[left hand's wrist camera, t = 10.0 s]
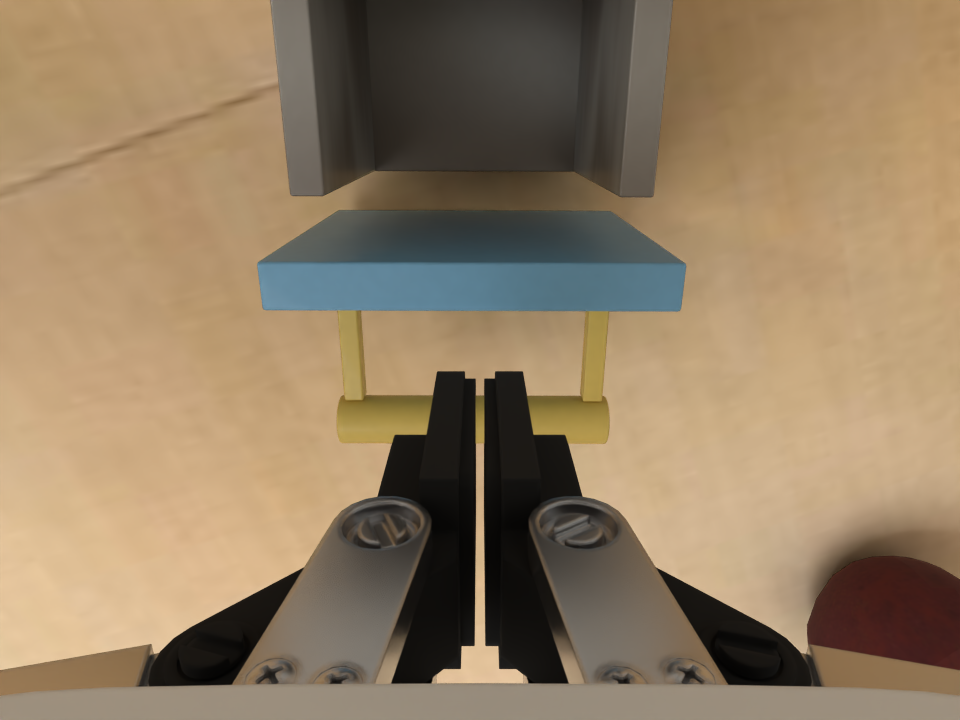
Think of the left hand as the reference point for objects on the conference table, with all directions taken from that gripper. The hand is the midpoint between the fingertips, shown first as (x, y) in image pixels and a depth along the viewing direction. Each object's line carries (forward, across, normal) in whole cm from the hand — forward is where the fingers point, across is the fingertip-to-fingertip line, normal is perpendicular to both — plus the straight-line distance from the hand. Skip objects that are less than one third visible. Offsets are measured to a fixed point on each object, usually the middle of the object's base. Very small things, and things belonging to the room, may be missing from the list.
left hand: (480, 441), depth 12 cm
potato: (+14, +18, -16) cm, 28 cm away
